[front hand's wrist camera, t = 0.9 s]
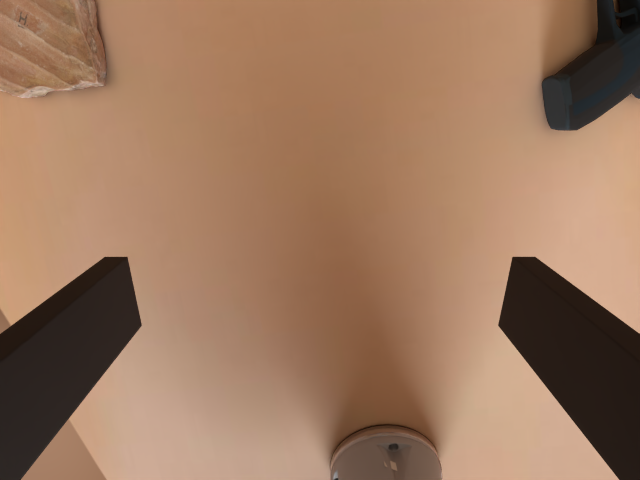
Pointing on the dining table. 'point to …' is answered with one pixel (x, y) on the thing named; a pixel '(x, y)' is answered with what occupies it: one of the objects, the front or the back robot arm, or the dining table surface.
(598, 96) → the handgun
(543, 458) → the dining table surface
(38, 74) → the stone
